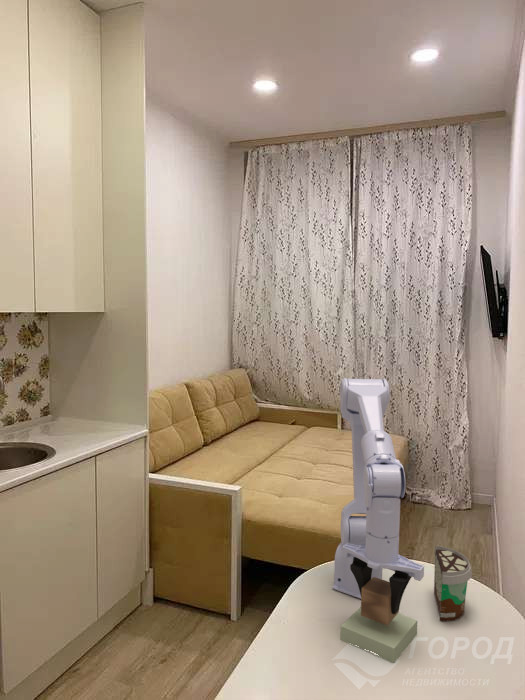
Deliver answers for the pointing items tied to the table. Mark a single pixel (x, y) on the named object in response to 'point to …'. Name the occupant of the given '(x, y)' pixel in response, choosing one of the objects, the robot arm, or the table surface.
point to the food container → (450, 582)
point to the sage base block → (380, 634)
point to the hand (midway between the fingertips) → (380, 605)
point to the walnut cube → (377, 601)
